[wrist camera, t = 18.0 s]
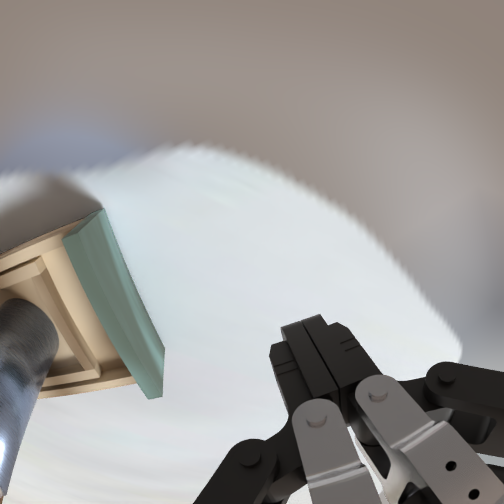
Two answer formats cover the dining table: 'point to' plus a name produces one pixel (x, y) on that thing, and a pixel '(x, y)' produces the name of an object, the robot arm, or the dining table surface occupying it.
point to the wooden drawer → (87, 309)
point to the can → (21, 374)
